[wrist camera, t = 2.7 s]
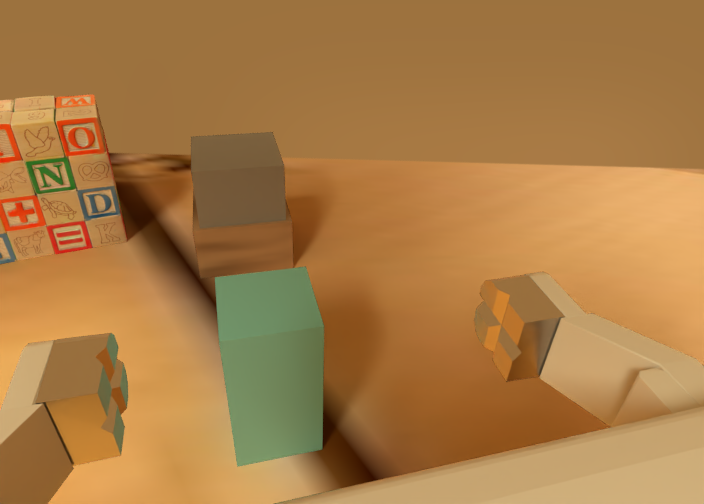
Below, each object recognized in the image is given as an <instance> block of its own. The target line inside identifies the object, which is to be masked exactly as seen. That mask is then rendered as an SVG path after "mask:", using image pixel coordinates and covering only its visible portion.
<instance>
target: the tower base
mask: <svg viewBox="0 0 704 504" xmlns="http://www.w3.org/2000/svg"><path fill="white" fill-rule="evenodd" d="M285 204H286V220H283V221H272V222H262V223H251V224H241V225H231V226H220V227H210V228H200V226H199V220H198V213H197V207H196V200H195V193H194V187H193V236H194V242H195V248H196V254H197V261H198V267H199V273H200V279H201V278H210V277H219V276H228V275H237V274H246V273H255V272H264V271H273V270H282V269H290V268H293V236H292V220H291V216H290V213H289V209H288V206H287V202H286V199H285Z"/></svg>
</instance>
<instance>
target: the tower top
mask: <svg viewBox="0 0 704 504" xmlns="http://www.w3.org/2000/svg"><path fill="white" fill-rule="evenodd" d="M191 173H192V180H193V187H194V193H195V200H196V207H197V213H198V220H199V226H200V228H210V227H220V226H231V225H241V224H251V223H262V222H272V221H283V220H286V204H285V176H284V164H283V161H282V158H281V155H280V152H279V150H278V147H277V144H276V141H275V138H274V135H273V132H267V133H250V134H232V135H215V136H214V135H213V136H196V137H191Z"/></svg>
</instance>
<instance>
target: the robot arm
mask: <svg viewBox="0 0 704 504" xmlns="http://www.w3.org/2000/svg"><path fill="white" fill-rule="evenodd" d="M480 295H481V297H482V298H483V300H484V301H483V302H482V303H481V304H480V305H479V306H478V307H477V309H476V313H475V318H474V321H475V330H476V333H477V336H478V338H479V340H480V342H481V343H482V345H483V347H485V348H487V349H488V350H490V351H492V352H494V356H493V362H494V364H495V365H496V367H497V368H498V370H499V371H500V373H501V374H502V376H503V377H504V379H505V380H506V382H508V381H514V380H520V379H526V378H532V377H539V376H540V379H541V380H543V381H544V382H546V383H547V384H549V385H550V386H552V387H553V388H554V389H556V390H557V391H559V392H560V393H562V394H563V395H565V396H566V397H568V398H569V399H570V400H572V401H573V402H575V403H576V404H578V405H579V406H581V407H582V408H584V409H585V410H586V411H588V412H589V413H591V414H592V415H594V416H595V417H597V418H598V419H600V420H601V421H602V422H604V423H605V424H607V425H608V426H610V427H611V428H606V429H602V430H597V431H593V432H588V433H584V434H580V435H575V436H571V437H566V438H562V439H557V440H553V441H549V442H544V443H540V444H535V445H531V446H527V447H522V448H518V449H513V450H509V451H505V452H500V453H496V454H491V455H487V456H483V457H478V458H474V459H469V460H465V461H461V462H456V463H452V464H447V465H443V466H439V467H434V468H430V469H425V470H421V471H416V472H412V473H408V474H403V475H399V476H394V477H390V478H385V479H381V480H377V481H372V482H368V483H363V484H359V485H354V486H350V487H346V488H341V489H337V490H332V491H328V492H323V493H319V494H314V495H310V496H306V497H301V498H297V499H292V500H288V501H283V502H279V503H275V504H704V366H703V365H702V364H701V363H700V362H699V361H698V360H697V359H695V358H693V357H691V356H689V355H686V354H684V353H682V352H679V351H677V350H675V349H673V348H670V347H668V346H666V345H664V344H661V343H659V342H657V341H654V340H652V339H650V338H648V337H645V336H643V335H641V334H639V333H636V332H634V331H632V330H630V329H627V328H625V327H623V326H620V325H618V324H616V323H614V322H611V321H609V320H607V319H605V318H602V317H600V316H598V315H596V314H593V313H589V314H586V313H585V312H584V311H583V310H582V309H581V308H580V307H579V305H578V304H577V303H576V302H575V301H574V300H573V299H572V298H571V297H570V296H569V295H568V294H567V293H566V292H565V291H564V290H563V289H562V288H561V287H560V285H559V284H558V283H557V282H556V281H555V280H554V279H553V278H552V277H551V276H550V275H549V274H547V273H545V272H537V273H531V274H525V275H520V276H514V277H507V278H500V279H493V280H486V281H485V282H484V283H483V285H482V287H481V291H480ZM117 352H118V345H117V342H116V339H115V336H114V335H113V334H112V333H107V334H99V335H90V336H82V337H73V338H65V339H57V340H52V341H44V342H35V343H28V344H27V345H26V346H25V347H24V349H23V350H22V353H21V356H20V358H19V361H18V364H17V366H16V369H15V372H14V374H13V377H12V380H11V382H10V385H9V388H8V390H7V393H6V396H5V399H4V401H3V404H2V407H1V409H0V504H48V502H49V501H50V500H51V498H52V497H53V496H54V494H55V493H56V492H57V490H58V489H59V488H60V486H61V485H62V483H63V482H64V481H65V479H66V478H67V477H68V475H69V474H70V473H71V471H72V470H73V469H74V468H73V466H75V465H80V464H84V463H89V462H94V461H98V460H103V459H107V458H112V457H117V456H121V451H122V443H123V435H124V428H125V426H124V423H123V420H122V417H121V414H122V413H123V412H124V411H125V410H126V409H127V402H128V381H127V375H126V370H125V367H124V364H123V362H121V361H120V360H118V359H117Z"/></svg>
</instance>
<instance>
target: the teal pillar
mask: <svg viewBox="0 0 704 504" xmlns="http://www.w3.org/2000/svg"><path fill="white" fill-rule="evenodd" d="M215 287H216V302H217V318H218V333H219V345H220V352H221V358H222V365H223V372H224V379H225V385H226V392H227V399H228V406H229V412H230V419H231V426H232V433H233V439H234V446H235V453H236V460H237V467H238V466H243V465H248V464H253V463H258V462H262V461H267V460H272V459H277V458H282V457H287V456H292V455H297V454H302V453H307V452H312V451H317V450H321V449H322V441H323V374H324V324H323V321H322V317H321V314H320V311H319V308H318V305H317V301H316V298H315V295H314V292H313V288H312V285H311V282H310V279H309V275H308V272H307V269H306V267H299V268H290V269H282V270H273V271H265V272H256V273H248V274H239V275H231V276H222V277H215Z"/></svg>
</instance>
